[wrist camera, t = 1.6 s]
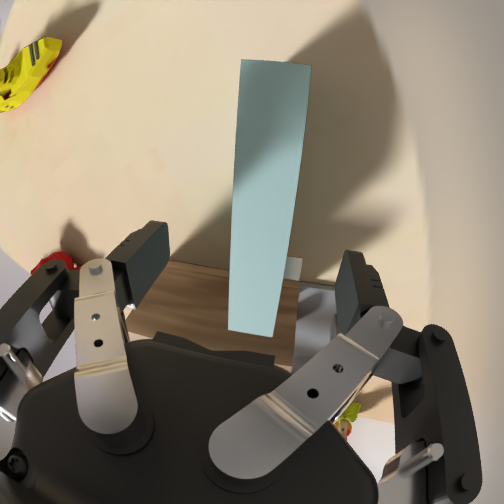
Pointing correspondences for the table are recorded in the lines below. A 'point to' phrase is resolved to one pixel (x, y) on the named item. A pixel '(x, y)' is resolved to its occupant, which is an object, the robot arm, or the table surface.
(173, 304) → the cabinet
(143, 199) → the table surface
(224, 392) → the robot arm
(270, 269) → the door
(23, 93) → the toy boat
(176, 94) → the table surface
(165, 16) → the table surface
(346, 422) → the bird rattle
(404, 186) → the table surface
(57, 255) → the figurine
